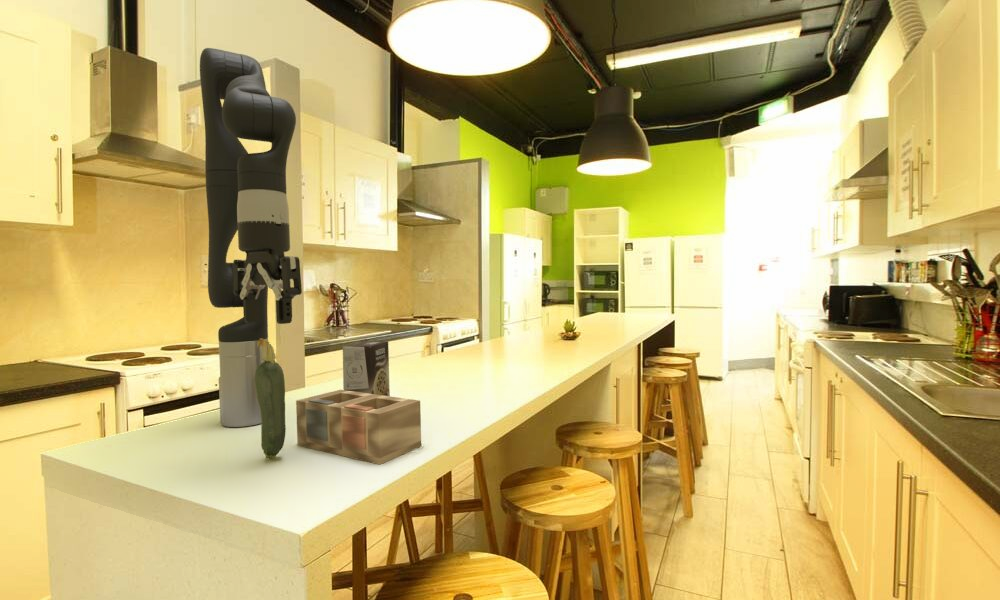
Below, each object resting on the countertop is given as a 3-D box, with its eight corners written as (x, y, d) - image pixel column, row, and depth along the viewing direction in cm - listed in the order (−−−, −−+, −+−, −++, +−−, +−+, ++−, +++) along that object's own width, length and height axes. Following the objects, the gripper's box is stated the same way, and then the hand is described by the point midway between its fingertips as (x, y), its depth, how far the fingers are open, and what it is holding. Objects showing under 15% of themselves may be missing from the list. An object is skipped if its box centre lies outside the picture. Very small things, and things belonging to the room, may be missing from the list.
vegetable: (293, 457, 83) (289, 336, 83) (273, 466, 79) (268, 339, 78) (271, 454, 85) (267, 336, 84) (251, 463, 81) (246, 339, 80)
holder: (296, 445, 89) (294, 399, 89) (341, 430, 98) (340, 388, 98) (378, 465, 79) (377, 412, 79) (421, 446, 88) (420, 398, 87)
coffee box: (372, 426, 100) (370, 346, 100) (343, 425, 102) (340, 345, 101) (391, 414, 109) (389, 340, 109) (364, 413, 111) (362, 340, 110)
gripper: (215, 223, 81) (219, 323, 82) (270, 215, 74) (274, 325, 74) (258, 227, 87) (261, 320, 88) (312, 220, 80) (316, 322, 81)
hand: (267, 322), depth 81 cm, fingers open, 8 cm apart
